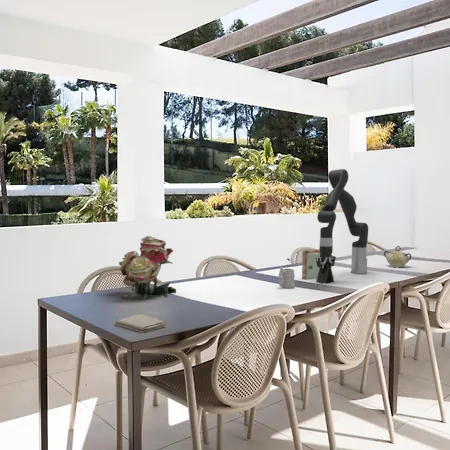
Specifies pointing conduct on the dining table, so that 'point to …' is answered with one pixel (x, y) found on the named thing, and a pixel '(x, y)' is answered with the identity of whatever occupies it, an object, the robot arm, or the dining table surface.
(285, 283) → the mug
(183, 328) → the dining table surface
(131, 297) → the rose bouquet
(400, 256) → the sugar bowl
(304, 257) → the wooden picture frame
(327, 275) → the phone stand
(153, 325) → the washcloth
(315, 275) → the door
